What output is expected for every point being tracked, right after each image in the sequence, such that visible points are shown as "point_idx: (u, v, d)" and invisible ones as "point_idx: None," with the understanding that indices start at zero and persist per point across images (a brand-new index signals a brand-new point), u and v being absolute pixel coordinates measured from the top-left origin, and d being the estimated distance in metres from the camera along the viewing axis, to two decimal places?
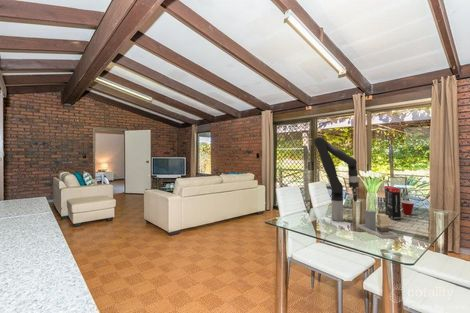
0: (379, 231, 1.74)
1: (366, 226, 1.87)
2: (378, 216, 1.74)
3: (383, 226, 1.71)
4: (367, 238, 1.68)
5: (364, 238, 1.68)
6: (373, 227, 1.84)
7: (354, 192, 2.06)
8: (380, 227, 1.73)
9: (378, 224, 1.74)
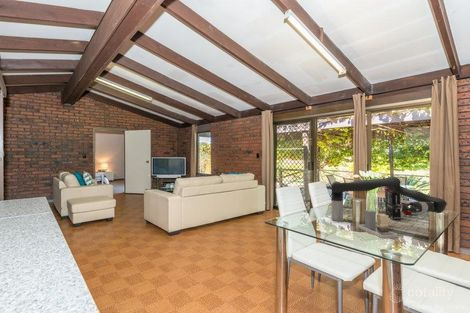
0: (379, 231, 1.74)
1: (366, 226, 1.87)
2: (378, 216, 1.74)
3: (383, 226, 1.71)
4: (367, 238, 1.68)
5: (364, 238, 1.68)
6: (373, 227, 1.84)
7: (415, 209, 1.69)
8: (380, 227, 1.73)
9: (378, 224, 1.74)
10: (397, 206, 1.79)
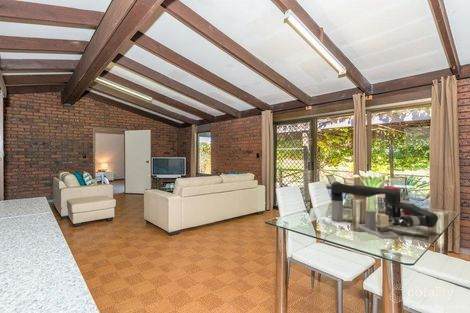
0: (379, 231, 1.74)
1: (366, 226, 1.87)
2: (378, 216, 1.74)
3: (383, 226, 1.71)
4: (367, 238, 1.68)
5: (364, 238, 1.68)
6: (373, 227, 1.84)
7: (406, 224, 1.68)
8: (380, 227, 1.73)
9: (378, 224, 1.74)
10: (389, 220, 1.79)
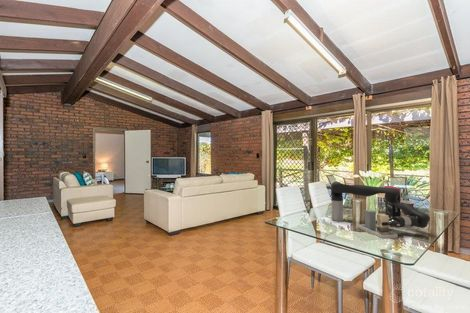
0: (379, 231, 1.74)
1: (366, 226, 1.87)
2: (378, 216, 1.74)
3: (383, 226, 1.71)
4: (367, 238, 1.68)
5: (364, 238, 1.68)
6: (373, 227, 1.84)
7: (396, 224, 1.68)
8: (380, 227, 1.73)
9: (378, 224, 1.74)
10: None
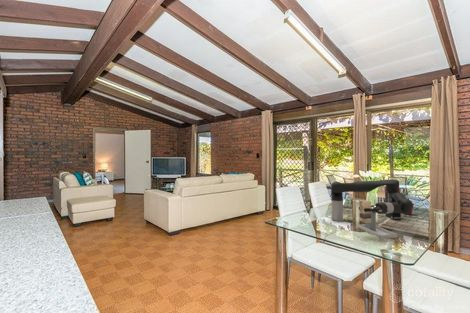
0: (361, 217, 1.72)
1: (366, 226, 1.87)
2: (360, 202, 1.72)
3: (365, 212, 1.69)
4: (367, 238, 1.68)
5: (364, 238, 1.68)
6: (373, 227, 1.84)
7: (378, 210, 1.66)
8: (362, 214, 1.71)
9: (360, 210, 1.73)
10: None
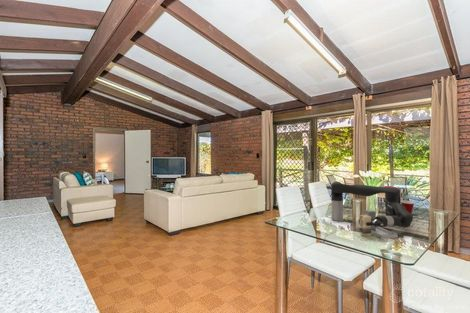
0: (362, 232, 1.72)
1: None
2: (361, 217, 1.73)
3: (365, 227, 1.69)
4: (367, 238, 1.68)
5: (364, 238, 1.68)
6: (373, 227, 1.84)
7: (380, 224, 1.66)
8: (362, 228, 1.71)
9: (361, 225, 1.73)
10: None
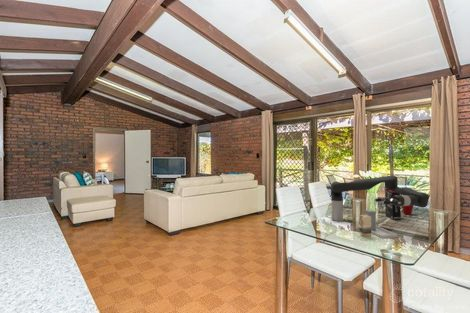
0: (362, 232, 1.72)
1: None
2: (361, 217, 1.73)
3: (365, 227, 1.69)
4: (367, 238, 1.68)
5: (364, 238, 1.68)
6: (373, 227, 1.84)
7: (397, 202, 1.67)
8: (362, 228, 1.71)
9: (361, 225, 1.73)
10: (380, 199, 1.78)
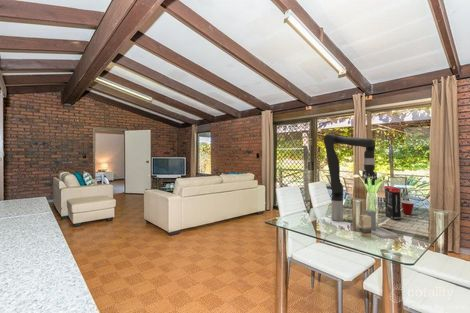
0: (362, 232, 1.72)
1: None
2: (361, 217, 1.73)
3: (365, 227, 1.69)
4: (367, 238, 1.68)
5: (364, 238, 1.68)
6: (373, 227, 1.84)
7: (375, 175, 1.90)
8: (362, 228, 1.71)
9: (361, 225, 1.73)
10: (365, 179, 2.01)
